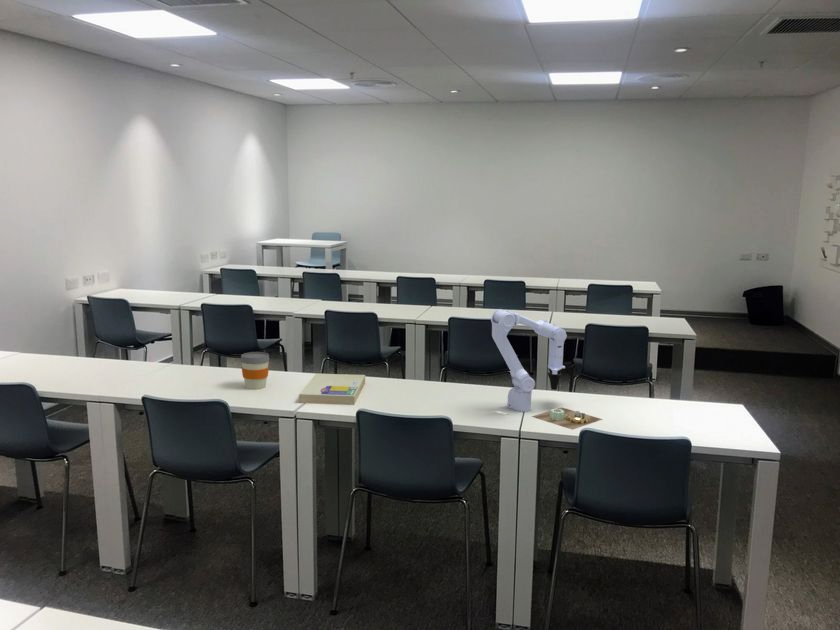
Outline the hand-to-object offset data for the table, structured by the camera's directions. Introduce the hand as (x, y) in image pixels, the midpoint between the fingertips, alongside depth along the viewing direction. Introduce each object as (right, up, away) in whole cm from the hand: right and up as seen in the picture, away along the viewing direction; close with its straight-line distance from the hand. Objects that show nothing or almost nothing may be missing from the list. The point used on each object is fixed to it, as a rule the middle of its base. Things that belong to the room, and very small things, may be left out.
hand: (554, 387), depth 284 cm
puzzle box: (-95, -5, +20) cm, 97 cm away
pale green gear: (-2, -11, -15) cm, 18 cm away
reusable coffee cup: (-131, -3, +25) cm, 134 cm away
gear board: (+2, -12, -13) cm, 18 cm away
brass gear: (+6, -11, -16) cm, 21 cm away
